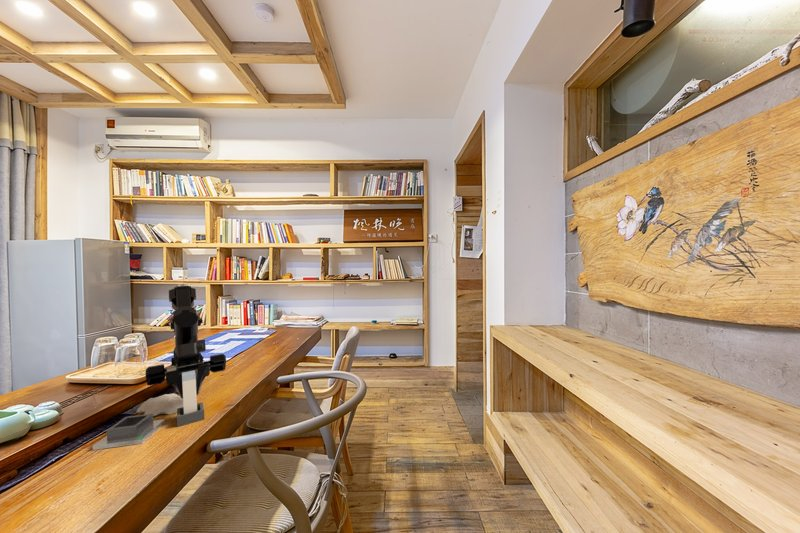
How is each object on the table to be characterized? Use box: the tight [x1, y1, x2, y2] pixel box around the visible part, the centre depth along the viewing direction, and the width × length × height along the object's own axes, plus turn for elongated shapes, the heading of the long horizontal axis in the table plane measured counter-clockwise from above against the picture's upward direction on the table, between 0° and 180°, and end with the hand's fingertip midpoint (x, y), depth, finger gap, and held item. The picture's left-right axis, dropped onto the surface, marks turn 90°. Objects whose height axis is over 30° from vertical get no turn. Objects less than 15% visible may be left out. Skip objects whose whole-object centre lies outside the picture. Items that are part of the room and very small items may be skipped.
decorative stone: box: [135, 393, 184, 417], centre depth 92 cm, size 11×4×15 cm
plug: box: [182, 370, 198, 414], centre depth 85 cm, size 4×3×12 cm
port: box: [92, 414, 166, 451], centre depth 78 cm, size 10×10×4 cm
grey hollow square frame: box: [176, 402, 205, 427], centre depth 85 cm, size 7×6×2 cm
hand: (189, 396), depth 84 cm, fingers closed on plug, 3 cm apart
